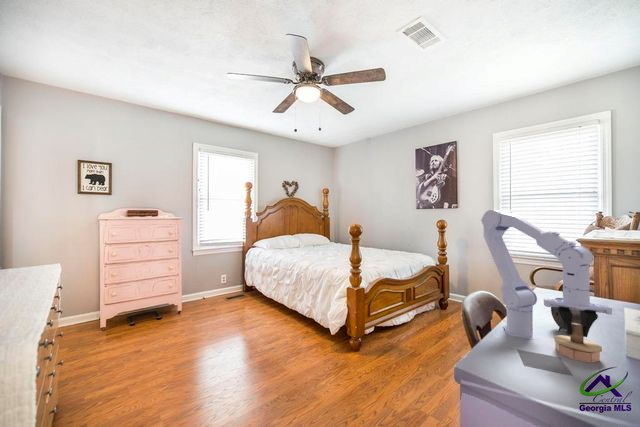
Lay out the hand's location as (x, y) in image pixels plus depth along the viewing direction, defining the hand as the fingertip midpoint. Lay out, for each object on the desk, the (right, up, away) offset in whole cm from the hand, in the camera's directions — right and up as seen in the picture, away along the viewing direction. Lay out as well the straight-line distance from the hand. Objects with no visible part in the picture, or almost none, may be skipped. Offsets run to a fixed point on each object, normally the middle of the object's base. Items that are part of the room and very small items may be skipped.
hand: (576, 334), depth 79 cm
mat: (-13, -6, -4) cm, 15 cm away
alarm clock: (+12, -7, +16) cm, 21 cm away
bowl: (0, -6, 0) cm, 6 cm away
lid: (0, -3, 0) cm, 3 cm away
